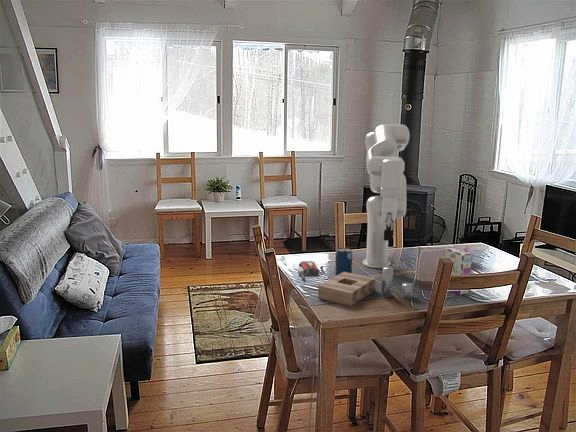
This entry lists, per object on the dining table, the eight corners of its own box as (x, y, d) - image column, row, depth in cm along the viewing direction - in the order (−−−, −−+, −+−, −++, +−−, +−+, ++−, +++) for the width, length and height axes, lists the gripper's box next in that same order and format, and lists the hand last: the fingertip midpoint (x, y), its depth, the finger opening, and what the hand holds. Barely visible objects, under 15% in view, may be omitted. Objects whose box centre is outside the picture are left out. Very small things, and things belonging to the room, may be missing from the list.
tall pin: (384, 292, 207) (385, 265, 205) (393, 294, 205) (395, 267, 202) (379, 295, 204) (381, 268, 201) (389, 297, 202) (390, 270, 199)
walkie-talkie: (294, 267, 238) (301, 282, 219) (294, 257, 237) (301, 272, 218) (313, 266, 239) (322, 281, 220) (314, 257, 238) (322, 271, 219)
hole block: (343, 283, 217) (344, 271, 216) (374, 290, 209) (375, 278, 208) (318, 297, 201) (318, 285, 200) (350, 306, 193) (351, 293, 192)
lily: (471, 261, 250) (462, 243, 251) (487, 259, 239) (477, 239, 240) (452, 272, 246) (443, 253, 247) (467, 270, 235) (458, 250, 236)
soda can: (354, 277, 224) (355, 250, 221) (341, 280, 220) (342, 252, 217) (345, 273, 229) (345, 246, 227) (331, 275, 226) (332, 248, 223)
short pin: (403, 294, 205) (404, 281, 204) (413, 296, 203) (414, 284, 202) (399, 297, 202) (400, 284, 201) (409, 299, 200) (410, 287, 199)
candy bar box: (470, 294, 206) (473, 253, 202) (459, 295, 204) (463, 255, 200) (451, 284, 216) (454, 246, 212) (441, 286, 214) (444, 247, 211)
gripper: (381, 188, 205) (379, 231, 208) (379, 195, 188) (377, 242, 192) (401, 189, 203) (399, 232, 207) (400, 196, 187) (398, 243, 190)
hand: (388, 237), depth 199 cm, fingers open, 9 cm apart
